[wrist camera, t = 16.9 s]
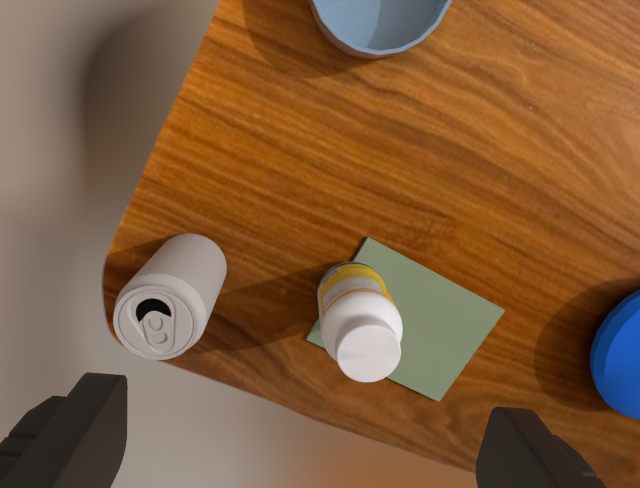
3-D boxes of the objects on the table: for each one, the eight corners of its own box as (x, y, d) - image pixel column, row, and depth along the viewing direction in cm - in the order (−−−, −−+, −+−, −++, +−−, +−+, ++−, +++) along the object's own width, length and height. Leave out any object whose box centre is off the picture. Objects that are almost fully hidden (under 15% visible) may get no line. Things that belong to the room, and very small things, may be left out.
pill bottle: (363, 331, 44) (385, 406, 33) (304, 304, 43) (307, 374, 32) (396, 276, 43) (430, 336, 32) (336, 247, 42) (350, 299, 31)
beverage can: (219, 225, 41) (190, 273, 29) (234, 289, 43) (212, 357, 31) (150, 236, 41) (94, 289, 29) (168, 300, 43) (121, 372, 31)
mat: (305, 337, 45) (305, 339, 44) (367, 236, 42) (367, 237, 42) (437, 399, 48) (438, 402, 47) (503, 309, 45) (505, 310, 45)
